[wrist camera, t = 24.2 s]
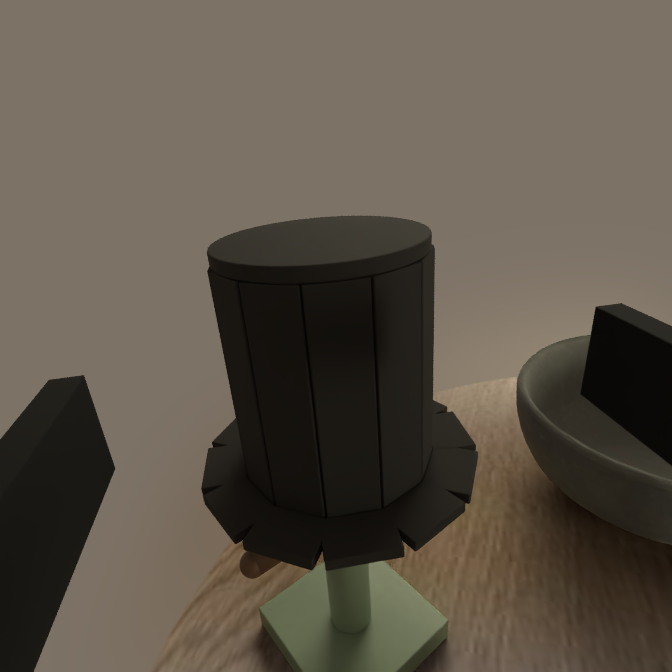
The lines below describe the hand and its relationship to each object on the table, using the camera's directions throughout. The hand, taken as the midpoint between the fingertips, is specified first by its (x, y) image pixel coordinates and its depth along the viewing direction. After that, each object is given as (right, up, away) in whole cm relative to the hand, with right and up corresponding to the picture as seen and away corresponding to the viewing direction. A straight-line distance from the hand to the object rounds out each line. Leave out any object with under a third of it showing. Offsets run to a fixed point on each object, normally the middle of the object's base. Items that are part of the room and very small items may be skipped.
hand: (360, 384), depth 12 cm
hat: (0, -5, +10) cm, 11 cm away
